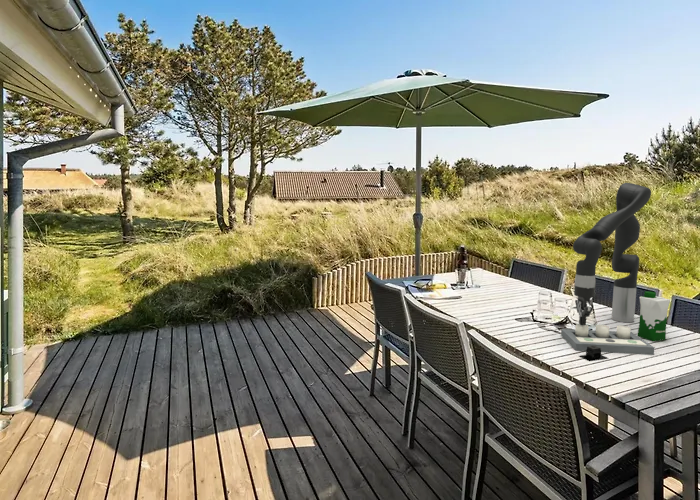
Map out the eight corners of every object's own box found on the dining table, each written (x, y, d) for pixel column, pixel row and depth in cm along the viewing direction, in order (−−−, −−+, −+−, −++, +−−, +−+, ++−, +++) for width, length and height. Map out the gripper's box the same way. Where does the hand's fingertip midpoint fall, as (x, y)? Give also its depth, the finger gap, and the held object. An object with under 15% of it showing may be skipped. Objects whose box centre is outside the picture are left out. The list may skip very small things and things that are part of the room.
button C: (573, 334, 171) (573, 323, 170) (585, 335, 170) (586, 324, 169) (577, 338, 166) (578, 327, 165) (589, 339, 165) (590, 327, 164)
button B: (593, 335, 169) (594, 324, 168) (605, 336, 168) (606, 324, 167) (598, 339, 164) (598, 328, 164) (610, 340, 163) (611, 328, 163)
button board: (561, 335, 175) (561, 328, 175) (630, 338, 170) (631, 331, 170) (575, 350, 158) (576, 343, 158) (653, 354, 152) (654, 347, 152)
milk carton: (648, 333, 176) (652, 290, 173) (669, 340, 167) (673, 295, 164) (633, 335, 173) (637, 291, 171) (654, 342, 165) (658, 296, 162)
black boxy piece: (598, 353, 156) (598, 342, 156) (614, 360, 149) (615, 349, 149) (572, 356, 153) (573, 345, 153) (588, 364, 146) (589, 352, 146)
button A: (613, 336, 167) (614, 325, 167) (626, 337, 166) (627, 325, 166) (619, 340, 163) (620, 328, 162) (632, 341, 162) (633, 329, 161)
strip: (575, 338, 164) (575, 336, 163) (639, 341, 159) (640, 339, 159) (580, 342, 159) (580, 341, 159) (646, 345, 154) (646, 344, 154)
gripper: (569, 281, 172) (567, 319, 174) (581, 288, 159) (578, 329, 161) (588, 282, 170) (585, 320, 173) (601, 288, 158) (598, 330, 160)
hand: (582, 324), depth 167 cm, fingers closed
